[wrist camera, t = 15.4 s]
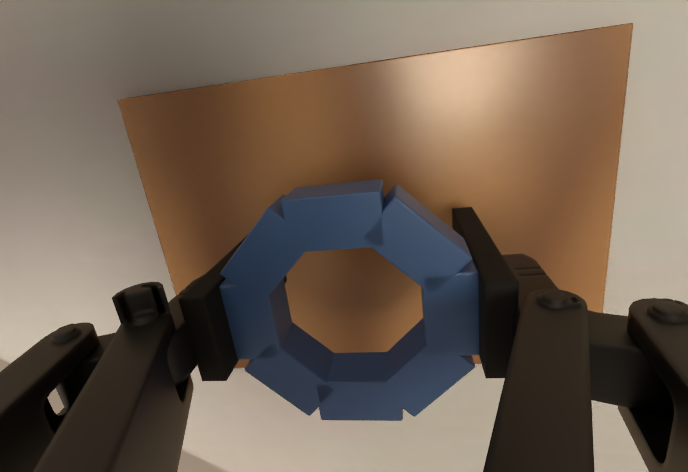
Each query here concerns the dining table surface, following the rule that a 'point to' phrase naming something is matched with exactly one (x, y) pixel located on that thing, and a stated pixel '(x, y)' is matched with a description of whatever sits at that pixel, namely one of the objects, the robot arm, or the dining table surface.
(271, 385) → the ring
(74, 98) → the dining table surface
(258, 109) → the wooden board
